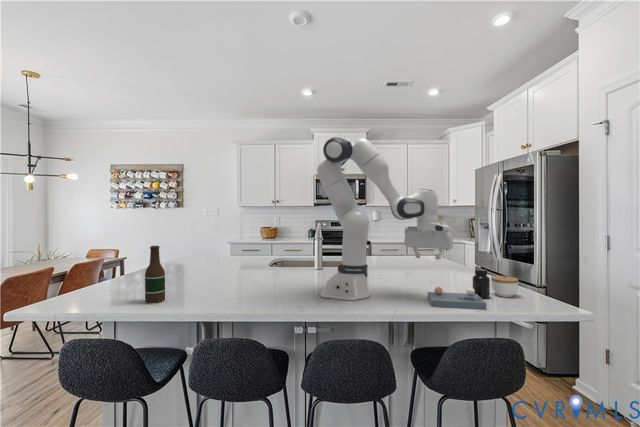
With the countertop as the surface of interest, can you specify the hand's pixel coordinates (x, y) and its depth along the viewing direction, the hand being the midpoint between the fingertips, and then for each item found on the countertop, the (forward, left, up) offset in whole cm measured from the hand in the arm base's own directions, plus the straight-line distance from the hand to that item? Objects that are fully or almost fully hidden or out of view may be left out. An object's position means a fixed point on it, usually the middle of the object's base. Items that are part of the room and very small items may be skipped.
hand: (428, 258), depth 140 cm
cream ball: (+17, 0, -13) cm, 22 cm away
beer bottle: (-115, -26, -18) cm, 119 cm away
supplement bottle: (+23, +7, -18) cm, 30 cm away
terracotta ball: (+4, -2, -13) cm, 14 cm away
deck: (+10, -5, -18) cm, 21 cm away
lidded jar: (+34, +12, -18) cm, 40 cm away
